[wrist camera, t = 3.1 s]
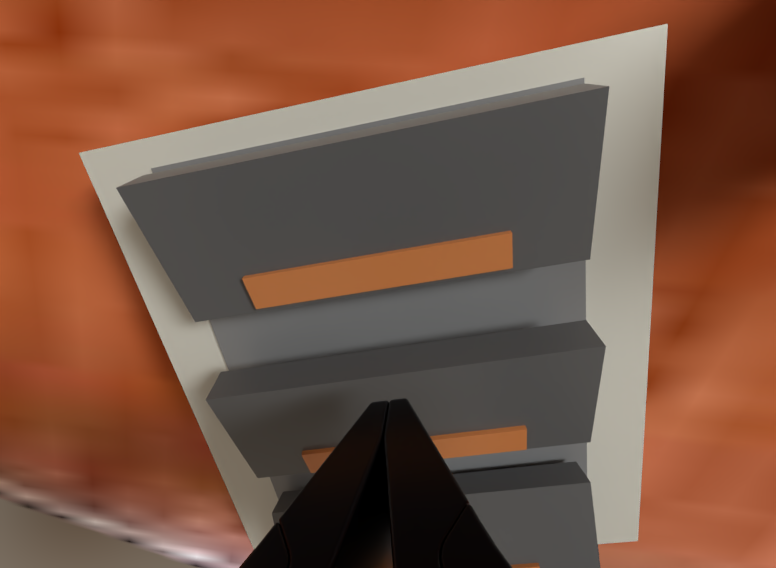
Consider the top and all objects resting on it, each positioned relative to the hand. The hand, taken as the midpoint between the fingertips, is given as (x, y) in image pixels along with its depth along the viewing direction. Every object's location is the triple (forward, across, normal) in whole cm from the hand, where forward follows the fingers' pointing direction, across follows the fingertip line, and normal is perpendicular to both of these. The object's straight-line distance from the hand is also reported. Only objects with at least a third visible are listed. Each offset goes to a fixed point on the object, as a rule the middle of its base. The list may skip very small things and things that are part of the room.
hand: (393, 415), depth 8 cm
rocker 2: (+3, 0, +2) cm, 3 cm away
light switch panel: (+7, 0, +3) cm, 8 cm away
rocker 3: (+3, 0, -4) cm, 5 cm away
